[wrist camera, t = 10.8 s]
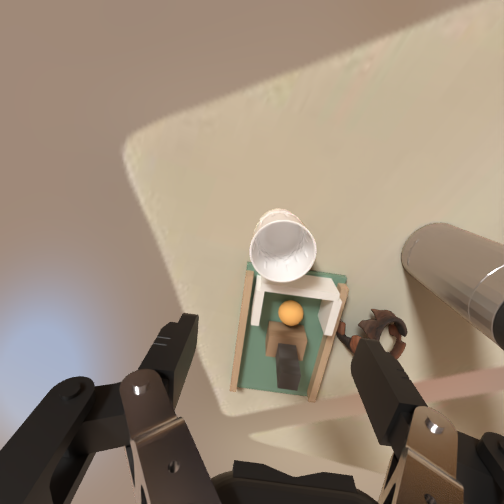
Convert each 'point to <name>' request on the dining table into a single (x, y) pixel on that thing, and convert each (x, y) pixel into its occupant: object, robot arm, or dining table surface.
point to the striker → (286, 352)
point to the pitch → (266, 309)
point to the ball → (290, 312)
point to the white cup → (282, 247)
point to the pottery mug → (377, 331)
